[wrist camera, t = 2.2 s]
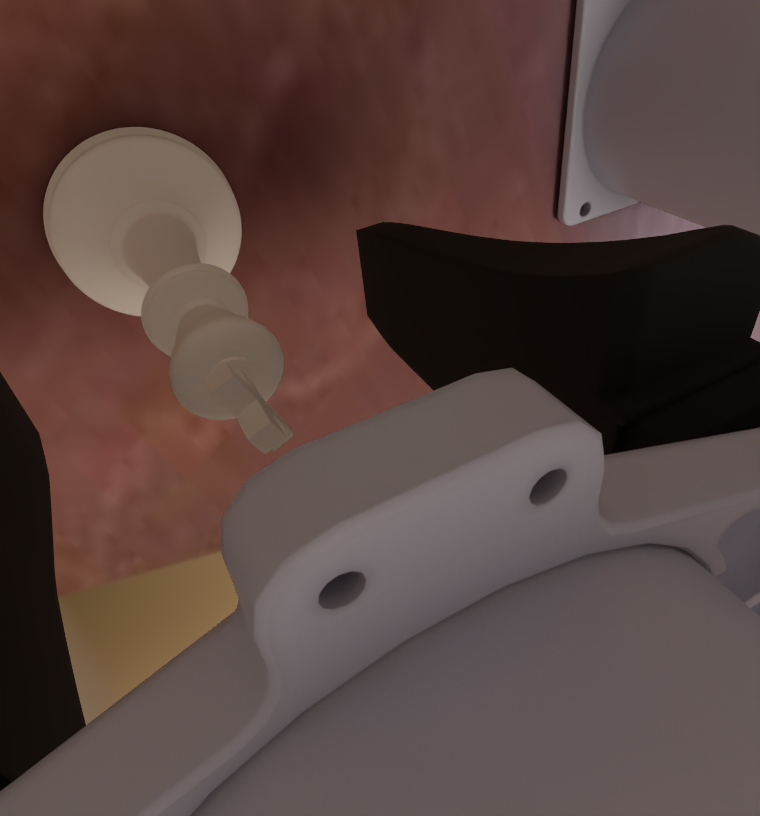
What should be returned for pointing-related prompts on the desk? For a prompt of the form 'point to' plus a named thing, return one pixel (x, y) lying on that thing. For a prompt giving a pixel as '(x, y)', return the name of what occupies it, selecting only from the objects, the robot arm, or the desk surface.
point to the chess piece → (168, 267)
